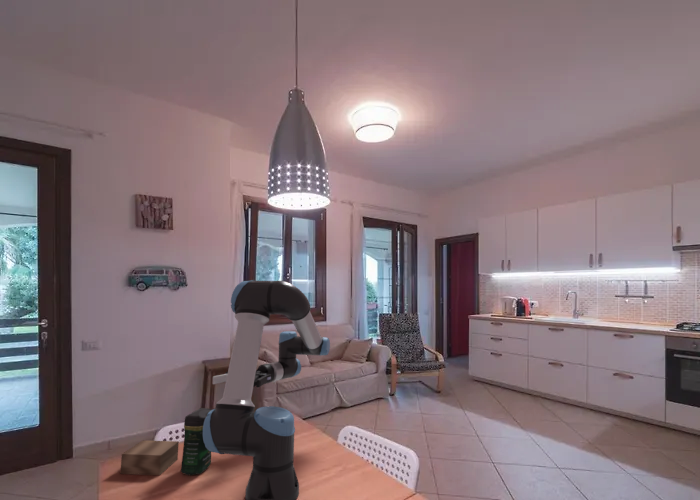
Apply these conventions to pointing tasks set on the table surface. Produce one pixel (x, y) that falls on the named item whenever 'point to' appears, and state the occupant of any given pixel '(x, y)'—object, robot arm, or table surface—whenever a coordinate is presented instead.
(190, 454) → the green supplement bottle
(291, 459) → the robot arm
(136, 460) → the block
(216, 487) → the table surface
